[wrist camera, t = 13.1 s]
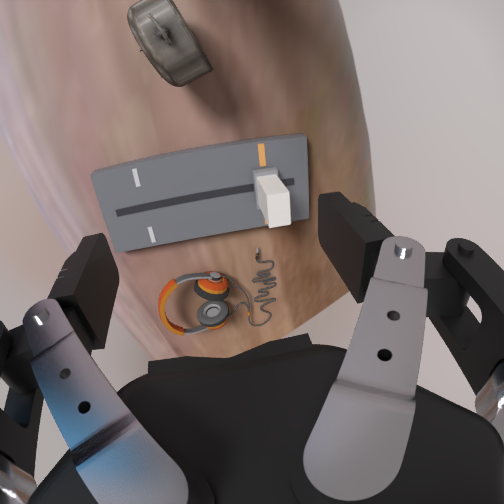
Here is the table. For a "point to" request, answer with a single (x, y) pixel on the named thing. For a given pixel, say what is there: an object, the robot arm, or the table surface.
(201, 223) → the console
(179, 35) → the alarm clock
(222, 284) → the headphones
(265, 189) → the fader
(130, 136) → the table surface
